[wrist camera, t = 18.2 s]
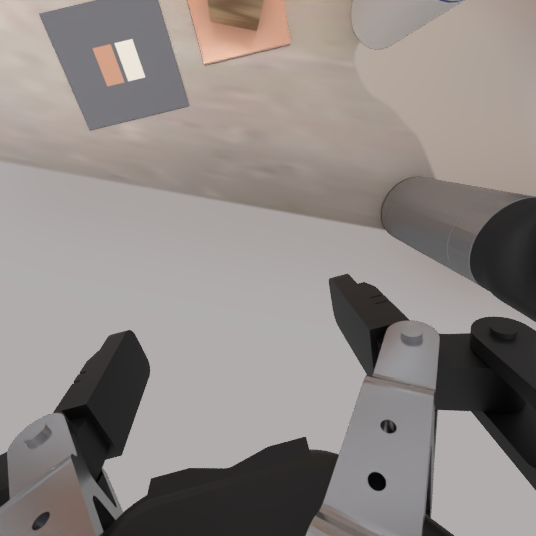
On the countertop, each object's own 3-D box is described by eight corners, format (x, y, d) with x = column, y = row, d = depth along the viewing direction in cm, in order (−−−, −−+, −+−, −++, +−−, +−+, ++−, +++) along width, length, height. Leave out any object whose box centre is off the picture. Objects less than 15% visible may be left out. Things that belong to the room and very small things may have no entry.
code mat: (154, -13, 30) (153, -14, 30) (189, 105, 34) (189, 105, 34) (39, 14, 30) (39, 13, 30) (90, 130, 34) (89, 130, 34)
